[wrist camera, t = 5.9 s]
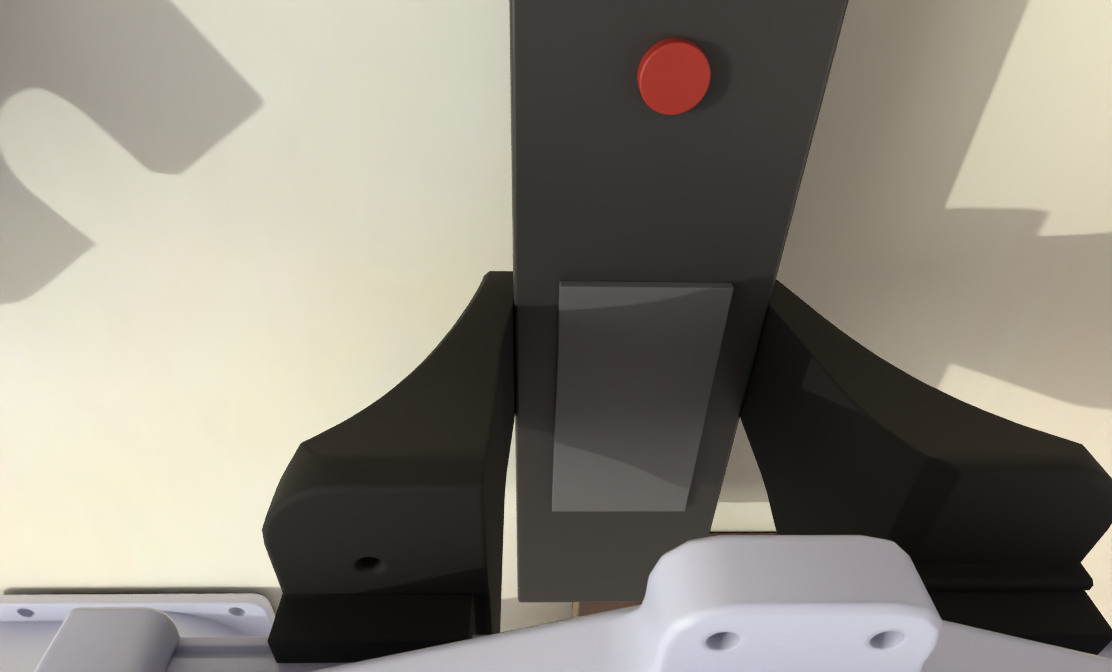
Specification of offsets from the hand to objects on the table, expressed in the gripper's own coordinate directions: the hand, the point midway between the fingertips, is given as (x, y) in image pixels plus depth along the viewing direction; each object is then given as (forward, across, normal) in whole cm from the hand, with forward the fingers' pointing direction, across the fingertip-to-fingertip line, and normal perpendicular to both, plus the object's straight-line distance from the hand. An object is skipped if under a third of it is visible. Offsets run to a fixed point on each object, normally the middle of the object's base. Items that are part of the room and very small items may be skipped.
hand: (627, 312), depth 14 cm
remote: (+1, 0, 0) cm, 1 cm away
